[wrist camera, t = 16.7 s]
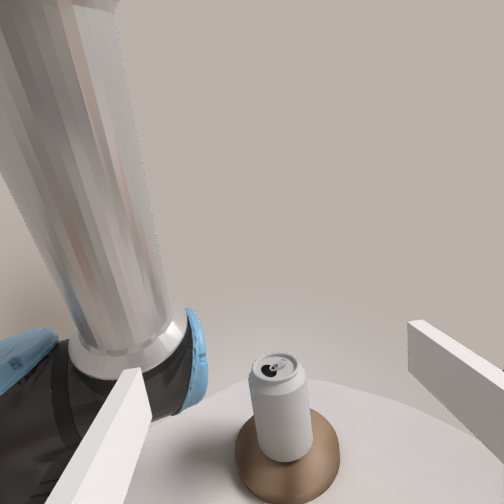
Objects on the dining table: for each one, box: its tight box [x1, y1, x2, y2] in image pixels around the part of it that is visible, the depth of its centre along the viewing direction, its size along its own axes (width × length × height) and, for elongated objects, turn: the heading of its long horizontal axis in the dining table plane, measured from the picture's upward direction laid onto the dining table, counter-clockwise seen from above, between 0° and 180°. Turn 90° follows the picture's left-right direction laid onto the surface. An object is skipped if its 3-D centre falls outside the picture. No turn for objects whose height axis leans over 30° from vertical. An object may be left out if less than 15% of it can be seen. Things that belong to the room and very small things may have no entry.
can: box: [248, 352, 313, 462], centre depth 37 cm, size 8×8×12 cm
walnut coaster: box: [235, 409, 340, 504], centre depth 39 cm, size 14×14×2 cm
